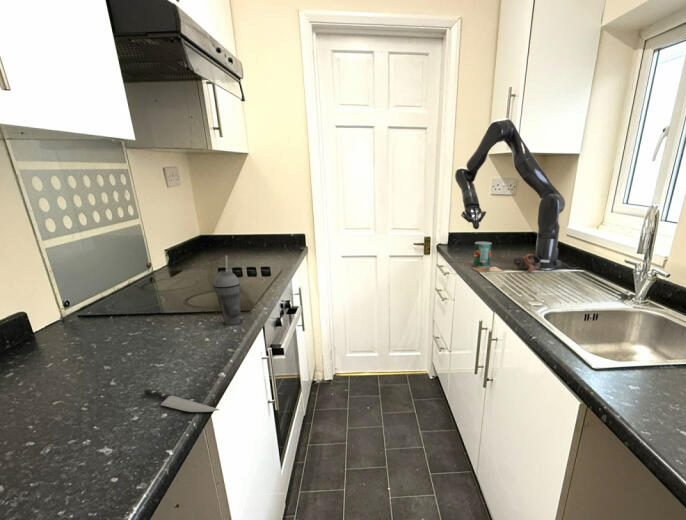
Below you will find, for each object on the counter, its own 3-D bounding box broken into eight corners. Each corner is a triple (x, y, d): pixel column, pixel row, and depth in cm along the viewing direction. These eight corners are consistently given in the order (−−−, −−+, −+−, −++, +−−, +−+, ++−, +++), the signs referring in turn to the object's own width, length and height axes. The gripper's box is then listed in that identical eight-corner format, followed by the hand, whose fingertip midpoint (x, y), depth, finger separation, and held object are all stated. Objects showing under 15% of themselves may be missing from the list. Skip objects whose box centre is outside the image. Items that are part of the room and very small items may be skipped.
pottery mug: (533, 268, 196) (541, 254, 190) (535, 281, 190) (544, 267, 183) (509, 262, 195) (517, 248, 188) (510, 274, 188) (519, 260, 182)
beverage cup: (220, 319, 126) (208, 254, 118) (245, 317, 128) (235, 252, 120) (219, 327, 119) (207, 258, 112) (245, 324, 122) (235, 257, 114)
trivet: (496, 267, 197) (496, 266, 197) (503, 271, 188) (503, 270, 188) (472, 267, 195) (472, 267, 195) (478, 272, 187) (478, 271, 187)
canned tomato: (493, 266, 198) (495, 243, 194) (480, 268, 194) (482, 244, 190) (482, 263, 204) (484, 241, 200) (470, 265, 200) (471, 242, 196)
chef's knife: (208, 420, 75) (220, 410, 77) (207, 414, 74) (219, 405, 77) (134, 399, 81) (148, 391, 84) (133, 394, 81) (146, 386, 83)
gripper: (459, 195, 205) (465, 223, 198) (485, 195, 207) (491, 223, 200) (456, 205, 212) (461, 233, 205) (480, 205, 213) (487, 232, 207)
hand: (476, 228), depth 203 cm, fingers closed
